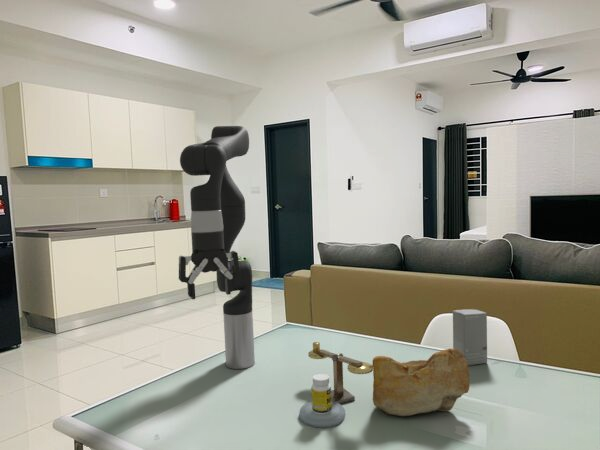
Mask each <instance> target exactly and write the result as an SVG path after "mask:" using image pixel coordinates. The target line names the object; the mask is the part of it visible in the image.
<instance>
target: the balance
mask: <svg viewBox="0 0 600 450" xmlns="http://www.w3.org/2000/svg"><path fill="white" fill-rule="evenodd" d="M307 354H308V357H309V358H310V359H313V360H323V359H331V360H332V365H333V367H332V369H333V389H331V401H333V402H336V403H339V404H340V405H342V404H346V403H350V402H353V401H356V400H355V395H353V394H352V393H351V392H349V391H348V390H347V389H346V388H344V376H343V375H344V371H343V370H344V368H343V366H344V364H343V363H345V364H347V371H348V372H349V373H352V374H354V375H365V374H371V373H372V372H373V364H371V363H370V362H365V361H361V360H357V359H355V358H351V357H346V356H344V354H343V353H341V352H340V353H334V352H330V351H329V350H327V349H322V348H321V346H320V342H318V341H315V342H312V350H310V351H309V352H308V353H307Z"/></svg>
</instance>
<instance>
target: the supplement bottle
mask: <svg viewBox="0 0 600 450" xmlns="http://www.w3.org/2000/svg"><path fill="white" fill-rule="evenodd" d="M330 382H331V381H330V376H329V375H328V374H326V373H318V374H314V375H313V376H312V385H311V402H312V410H313V412H314V413H315V414H318V415H326V414H329V413H330V412H331V410H332V403H331V390H332V385H331V383H330Z"/></svg>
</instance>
